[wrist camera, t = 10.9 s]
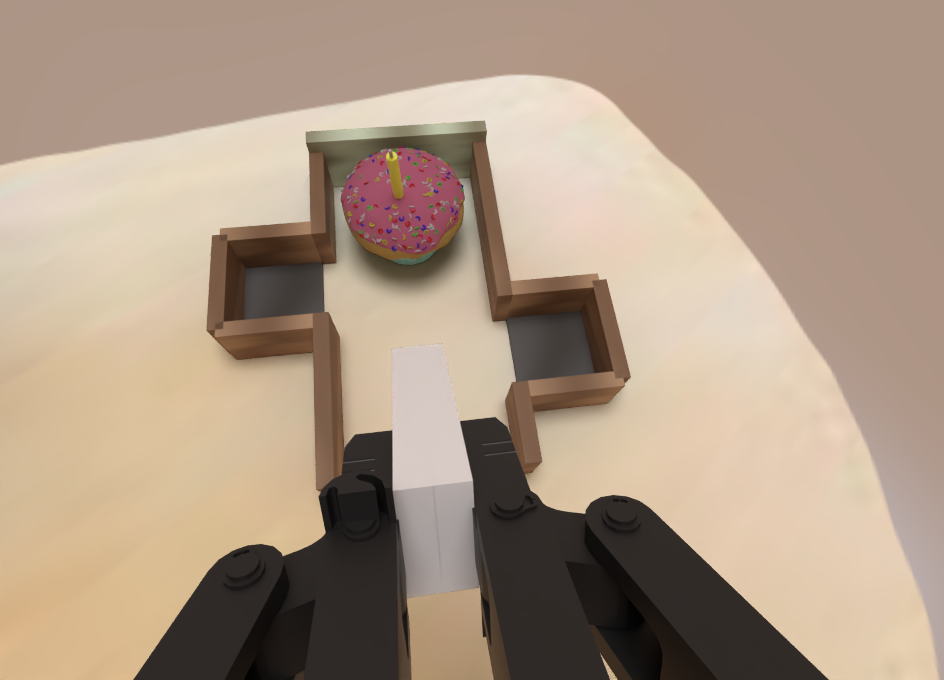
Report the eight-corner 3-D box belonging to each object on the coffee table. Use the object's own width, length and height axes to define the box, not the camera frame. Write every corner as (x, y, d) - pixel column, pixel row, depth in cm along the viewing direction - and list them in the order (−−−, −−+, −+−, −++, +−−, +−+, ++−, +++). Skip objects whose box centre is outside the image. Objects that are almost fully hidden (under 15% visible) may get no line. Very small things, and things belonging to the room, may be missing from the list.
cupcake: (459, 290, 40) (465, 186, 29) (344, 284, 40) (306, 177, 29) (464, 195, 44) (471, 70, 33) (358, 189, 43) (328, 60, 32)
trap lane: (223, 511, 34) (188, 502, 29) (236, 183, 43) (212, 137, 38) (627, 460, 36) (654, 444, 32) (557, 161, 46) (570, 115, 41)
